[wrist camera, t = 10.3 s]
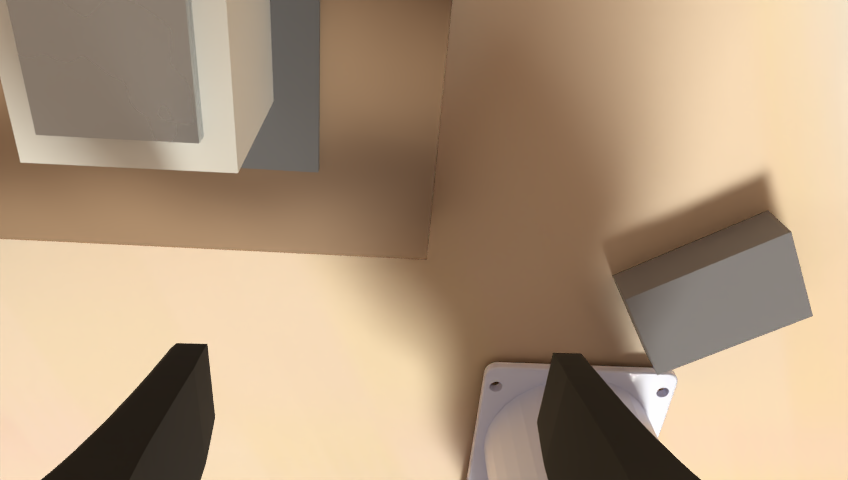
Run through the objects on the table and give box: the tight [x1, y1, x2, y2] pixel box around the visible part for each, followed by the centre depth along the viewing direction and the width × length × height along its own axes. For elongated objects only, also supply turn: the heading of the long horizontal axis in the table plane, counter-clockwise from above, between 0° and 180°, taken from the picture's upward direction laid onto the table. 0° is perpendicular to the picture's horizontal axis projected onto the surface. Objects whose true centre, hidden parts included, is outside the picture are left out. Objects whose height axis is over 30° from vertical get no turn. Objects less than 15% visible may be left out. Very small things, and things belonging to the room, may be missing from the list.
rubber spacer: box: [613, 211, 813, 375], centre depth 25 cm, size 4×6×2 cm, turn 117°
